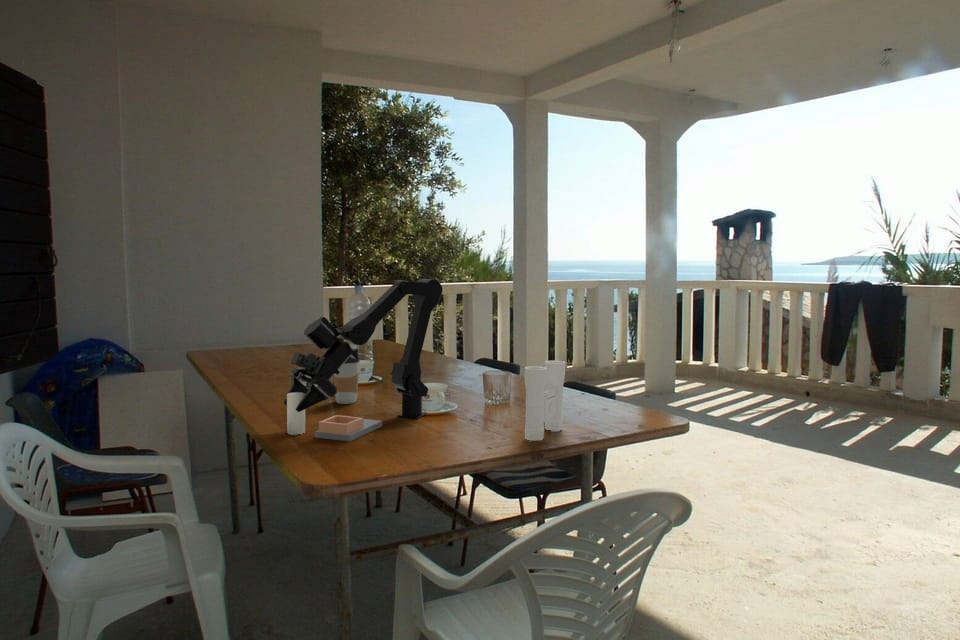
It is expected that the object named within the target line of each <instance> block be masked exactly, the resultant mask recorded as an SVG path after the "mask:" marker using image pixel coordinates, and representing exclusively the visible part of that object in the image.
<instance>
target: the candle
mask: <svg viewBox="0 0 960 640" xmlns="http://www.w3.org/2000/svg"><path fill="white" fill-rule="evenodd" d="M286 396H287V406H286V414H287V415H286V417H287V418H286V422H287V424H286V425H287V427H286V430H287V432H286V433H288V434H287V435H289V434H290V435H291V436H298V434H300V435H303V433H304V434H305V433H306V409H304V410H302V411H300V412H298V411H297V410H296V408H297V406H298V404H299V403H300V401H301V400H302V399H303V397H304V396H305V393H301V392H294V393H288V392H287V394H286Z"/></svg>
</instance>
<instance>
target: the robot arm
mask: <svg viewBox="0 0 960 640" xmlns="http://www.w3.org/2000/svg"><path fill="white" fill-rule="evenodd" d="M443 291H444V290H443V286H442V284H441V282H440V281H439V280H437V279H432V278H430V279H429V278H420V279H419V280H416V281H408V280H403V279H397V280H395V281H394V282H393V283H392V285H391V286H390V287H389V288H388V289H387V290H386V291H385V292H384V293H383V294H382V295H381V296H380V297H379V298H377V300H376V301H374V303H373V304H372V305H371V306H370V307H368V308H367V309H366V311H364V312H363V313H362V314H359V315H358V316H356V317H353V318H352V319H350V320H349V321H348V322H346V323H345V324H344V325H343V326H342V327H337V328H335V326H333V325H332V323H330V321H329V320H328V318H326V317H325V316H323V315H322V316H320V317H319V318H318V319H316V320H314V321H313V322H311V323H309V324H308V325H307V326H306V327H305V330H304V331H303V335H304V336H305V337H306V339H308V340H309V341H310V342H311V343H312V344H313V345H314V346H316V348H317V349H319V350H323V349H324V350H325V351H324V352H323V353H322V355H321V356H319V355H317V356H316V354H314V353H311V352H307V353H306V354H303V353H300V352H297V351H294V353H293V356H292V358H291V360H290V362H289V363H290V364H291V365H293V366H294V365H295V366H297V367H294V368H292V369H291V371H289V374H290V378H291V385H290V388H289V390H288V392H287V394H288V393H294V392H301V393H305V396H304V397H303V399H302V400H301V401H300V403H299V404H298V406H297V408H296V410H297V411H298V412H300V411H302V410H304V409H305V410H307V409H308V408H310V407H313V406H314V405H315V406H316V405H317V404H319V403H321V402H324V401H325V400H327V401H328V400H329V398H330V399H333V398H334V397H336V396H335V395H336V394H337V387H336V386H335V385H334V384H333V383H332V381H330V380H331V379H332V378H334V374H336V375H338V374H339V373H340V372H339V371H338V370H339V369H340V367H341V366H342V365H343V364H344V363H345V362H346V360H347V359H348V358H349V357H351V358H354V359H358V358H359V359H360V357H359V352H358V351H359V349H358V348H355V347H354V348H353V347H352V346H351V345H356V346H363V345H365V344H367V343H368V341H369V340H370V339H371V337H372V336H373V334H374V333H375V331H376V329H377V325H378V324H379V323H380V322H381V321H382V320H383V319H384V318H385V317H386V316H387V315H388V314H389V313H390V311H392V309H394V308H395V306H397V305H398V304H399V303H400V302H401V301H402V300H403V299H404V298H405V297H406V296H407V295H410V296H411V295H412V300H413V301H412V302H413V305H414V311H413V314H412V318H411V323H410V326H409V330H408V335H407V339H406V342H405V347H404V351H403V356H402V357H401V359H400V360H399V361H393V364H392V370H391V373H390V374H389V375H390V377H391V378H390V379H391V383H392V385H393V386H394V387H395V388H396V390H397V393H398V394H401V412H400V413H398V414H397V415H396V416H397V417H398V418H406V419H416V420H417V419H420V418H421V417H424V416H426V415H427V413H428V412H425V411H423V397H427V395H428V392H429V388H428V387H427V386H426V384H424V382H422V368H421V363H420V361H421V355H422V353H423V347H424V344H425V339H426V335H427V330H428V327H429V322H430V318H431V315H432V312H433V310H434V309H435V308H436V307H437V305H439V301H440V299H441V296H442V295H443ZM341 339H342V340H343V341H341ZM349 344H351V345H349ZM283 405H285V406H286V407H287V395H286V397H285V399H284V400H283Z"/></svg>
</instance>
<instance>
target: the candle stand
mask: <svg viewBox="0 0 960 640" xmlns="http://www.w3.org/2000/svg"><path fill="white" fill-rule="evenodd" d="M382 427H383V420H378V419H377V420H375V419H367V418H364V417H358V416H350V415H349V416H348V415H340V414H339V415H338V414H336V415H333V416H331V417H328V418H325V419H323V420H320V421H318V429H317V430H315V431H314V435H315V436H314V438H317V439H326V440H335V441H341V442H342V441H343V442H352V441H355V440H357V439H358V438H361V437H363V436H366V435H367V434H369V433H371V432H373V431H376V430H378V429H379V428H382Z"/></svg>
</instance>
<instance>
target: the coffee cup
mask: <svg viewBox="0 0 960 640" xmlns="http://www.w3.org/2000/svg"><path fill="white" fill-rule="evenodd" d="M359 367H360V357H359V358H358V359H354V358H351V357H349V358H348V359H347V360H346V362H345V363H344V364H343V365H342V366H341V367H340V369H339V370H338V371H339V372H340V373H339V374H338V375H336V374H334V375H333V383H334V384H333V385H335V386H336V387H337V394H336V395H335V396H334V397H335V401H336V403H337V404H340V405H348V404H351V405H352V404H355V403H356V401H357V399H358V390H359V389H358V387H359V373H360V371H359V369H360V368H359Z"/></svg>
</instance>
